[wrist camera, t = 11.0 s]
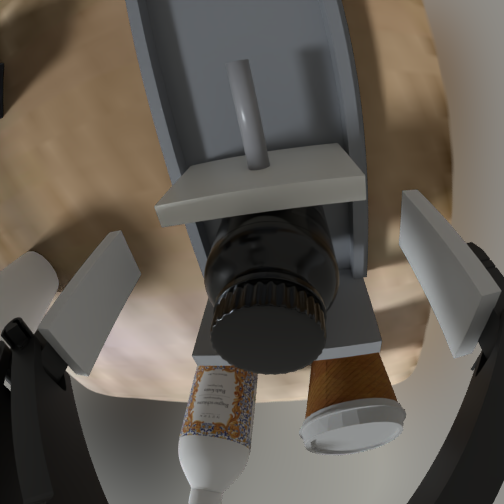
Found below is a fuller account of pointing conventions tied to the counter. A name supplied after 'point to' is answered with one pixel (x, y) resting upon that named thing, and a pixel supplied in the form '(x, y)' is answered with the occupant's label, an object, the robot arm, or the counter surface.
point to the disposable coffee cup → (350, 406)
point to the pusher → (260, 171)
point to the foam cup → (26, 290)
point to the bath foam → (217, 430)
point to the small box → (1, 89)
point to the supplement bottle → (271, 289)
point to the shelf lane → (272, 116)
